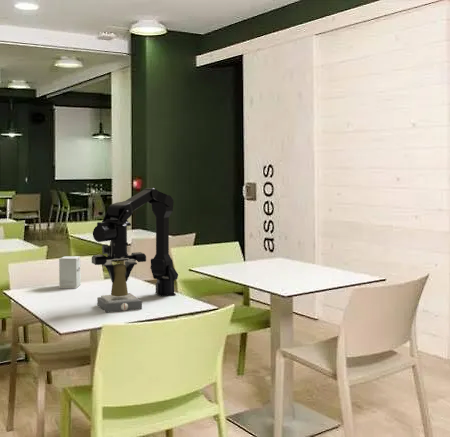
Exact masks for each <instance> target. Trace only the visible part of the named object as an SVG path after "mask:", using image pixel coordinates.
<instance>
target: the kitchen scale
mask: <svg viewBox="0 0 450 437" xmlns="http://www.w3.org/2000/svg"><path fill="white" fill-rule="evenodd" d="M97 307H98V308H100V309H101V310H102V311H104V313H117V312H128V311H136V310H142V309H143V300H141V299H139V298H138V297H137V296H135V295H134V294H132V293H131V292H130V293H129V292H128V295H125V296H112V295H111V294H105V295H103V294H102V295H100V296H99V297H97Z"/></svg>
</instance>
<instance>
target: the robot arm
mask: <svg viewBox="0 0 450 437" xmlns="http://www.w3.org/2000/svg"><path fill="white" fill-rule="evenodd" d="M147 203H148V204H149V205H151V211H152V213H153V214H154V216H155V255H154V257H153V258H151V259H150V269H151V270H150V271H151V273H152V278H153V280H156V282H155V294H156V295H158V296H160V297H165V296H166V297H168V296H176V293H175V281H177V280H178V278H179V273H178V272H177V270H176V269H175V268H174V261H173V259H172V258H171V255H170V252H169V247H170V246H169V245H170V244H169V243H170V242H169V238H170V237H169V236H170V232H169V231H170V227H169V225H170V222H169V221H170V216H171V214H172V213H173V211H174V197H172V196H171V195H170V194H166V193H164V192H162V191H160V190H158V189H156V188H154V187H152V188H151V187H146V188H143V189H142V190H141V191H139V192H137V193H136V194H135V195H133V196H131V197H129V198H128V199H126V200H123V201H117V202H115V203H114V202H113V203H111V204H110V205H108V207H107V211H106V212H105V215H104V216H103V219H102V221H101V222H100V221H98V222H96V226H95V227H94V229H93V231H92V237H93V239H94V240H95V242H98V243H101V242H108V241H109V244H102V245H101V251H102V252H101V253H102V254H93V255H92V256H91V264H93V265H95V266H101V265H102V266H104V267H105V268H106V270H107V273H108V275H109V278H110V282H111V284H112V283H114V266H113V265H114V264H113V263H112V262H124V265H125V266H126V268H127V270H126V273H125V277H126V283H127V282H128V280H129V278H130V275H131V272H132V270H133V269H134V267H135V265H138V263H145V262H147V255H146V254H145V253H143V252H141V251H140V252H139V251H137V252H131V254H130V255H129V253H128V246H129V242H128V227H130V226H132V224H131V223H130V222H129V220H128V219H130V218H131V216H133V212H134V211H136V210H137V209H139V208H140V207H142V206H144V205H145V204H147ZM106 255H107V256H106ZM137 262H138V263H137Z"/></svg>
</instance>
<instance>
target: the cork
mask: <svg viewBox="0 0 450 437" xmlns="http://www.w3.org/2000/svg"><path fill="white" fill-rule="evenodd" d="M113 266H114V283H112V282H111V293H110V295H112V296H125V295H128V293H129V292H128V286H127V285H128V284H127V282H126V277H125V273H126V270H127V268H126V266H125V263H124V264H122V263H115V264H113Z"/></svg>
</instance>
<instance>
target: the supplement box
mask: <svg viewBox="0 0 450 437" xmlns="http://www.w3.org/2000/svg"><path fill="white" fill-rule="evenodd" d="M58 260H59V261H58V266H59V267H58V268H59V269H58V271H59V272H58V273H59V277H58V280H59V283H58V284H59V289H73V288H76V289H77V288H79V287H80V286H81V256H80V255H79V256H75V255H73V256H71V255H70V256H69V255H67V256H62V257H60V258H59V259H58Z"/></svg>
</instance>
